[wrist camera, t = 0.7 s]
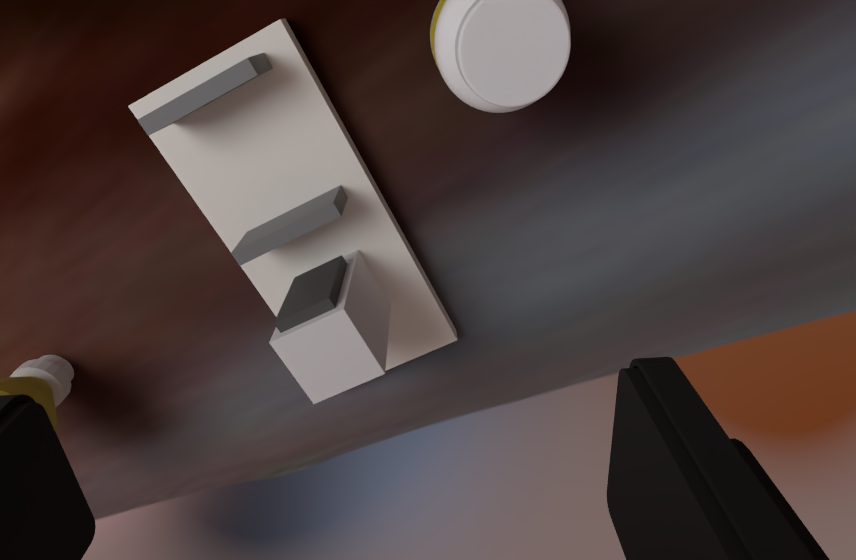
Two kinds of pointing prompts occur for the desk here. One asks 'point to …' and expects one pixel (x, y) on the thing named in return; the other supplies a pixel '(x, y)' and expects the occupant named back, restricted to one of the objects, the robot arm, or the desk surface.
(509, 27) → the supplement bottle
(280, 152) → the white rack stand
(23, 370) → the light bulb
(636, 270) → the desk surface
